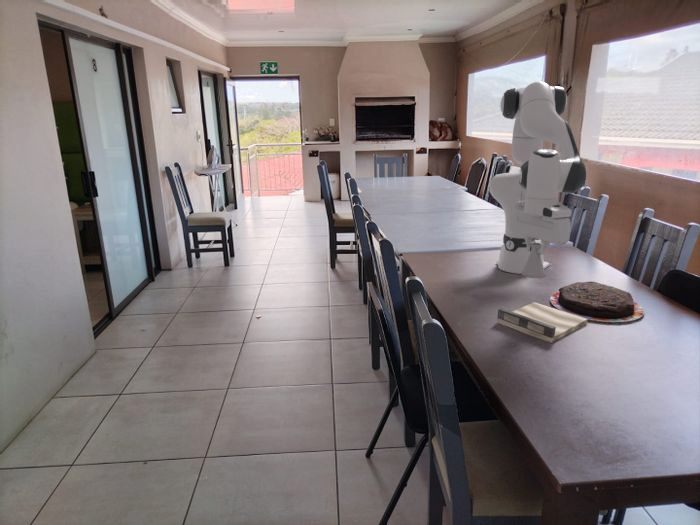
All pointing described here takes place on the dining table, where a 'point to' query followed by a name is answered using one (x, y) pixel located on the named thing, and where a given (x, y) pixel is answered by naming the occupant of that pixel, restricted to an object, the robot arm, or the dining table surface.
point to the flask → (534, 263)
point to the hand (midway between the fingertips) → (535, 252)
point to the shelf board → (541, 321)
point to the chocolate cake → (597, 303)
